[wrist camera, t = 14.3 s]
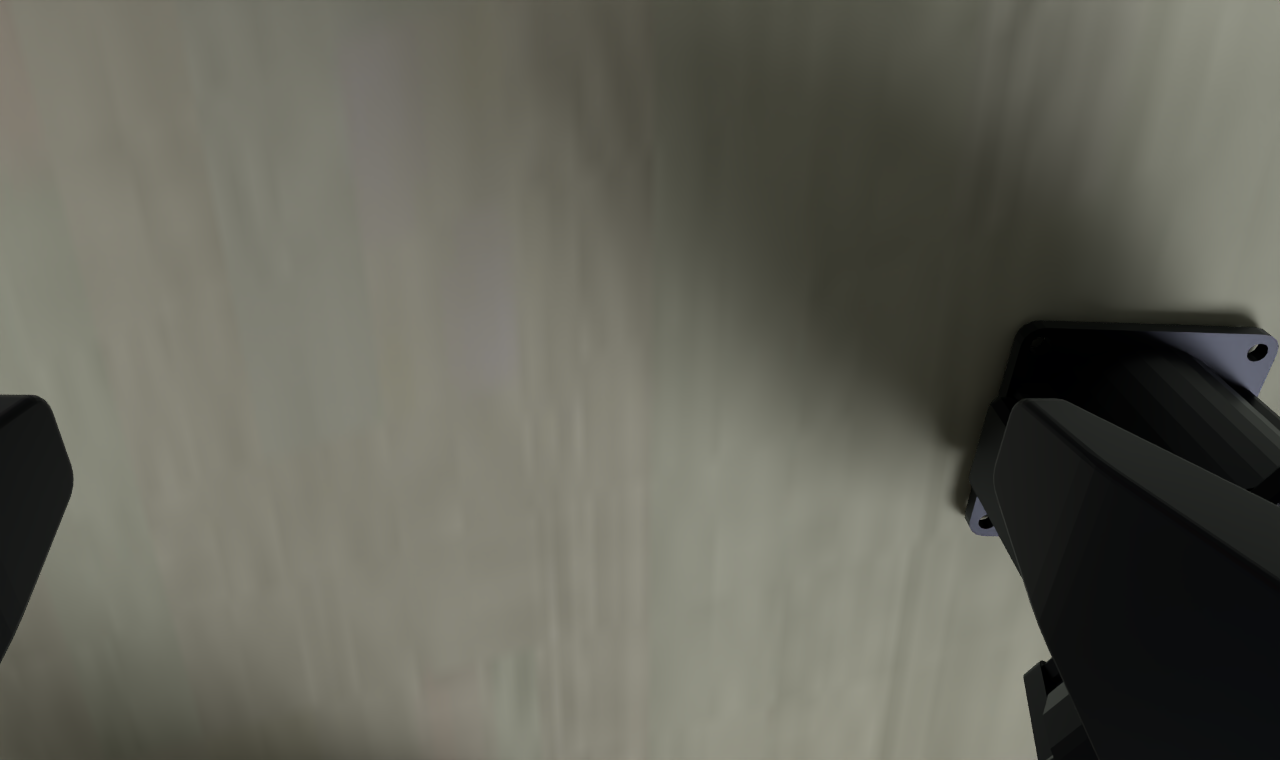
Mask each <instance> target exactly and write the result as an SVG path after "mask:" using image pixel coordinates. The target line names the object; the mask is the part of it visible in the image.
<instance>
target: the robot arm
mask: <svg viewBox="0 0 1280 760" xmlns="http://www.w3.org/2000/svg"><path fill="white" fill-rule="evenodd" d="M1039 337H1045V339H1044V340H1043V342H1042V343H1041V344H1040V345H1039V346H1037V347H1030V345H1031V344H1032V342H1033V341H1034V340H1035V339H1037V338H1039ZM1256 344H1258V346H1257V347H1256V349H1255V350H1254V351H1252V352H1250V353H1247V352H1248V351H1249V350H1250V348H1251V347H1253V346H1254V345H1256ZM1278 347H1279V346H1278V343H1277V340H1276V339H1275V338H1274V337H1272V336H1271V335H1270V334H1268V333H1267V332H1266V331H1265V330H1263V329H1261V328H1256V327H1229V326H1198V325H1167V324H1136V323H1104V322H1073V321H1042V320H1039V321H1032V322H1030V323H1028V324H1026V325H1024V326H1023V327H1022V328H1021V329H1020V330H1019V331H1018V332H1017V334H1016V336H1015V338H1014V342H1013V346H1012V349H1011V353H1010V356H1009V360H1008V363H1007V367H1006V370H1005V374H1004V377H1003V381H1002V384H1001V388H1000V391H999V395H998V397H997V398H995V399H994V400H993V402H992V403H991V404H990V405H989V407H988V411H987V414H986V418H985V421H984V425H983V429H982V432H981V436H980V439H979V443H978V446H977V450H976V454H975V457H974V461H973V464H972V468H971V471H970V475H969V482H970V484H971V486H972V490H971V493H970V497H969V500H968V504H967V507H966V511H965V519H966V521H967V523H968V525H969V527H970V528H971V530H972V532H974V533H975V534H977V535H982V536H999V537H1000V539H1001V541H1002V542H1003V544H1004V546H1005V548H1006V550H1007V552H1008V553H1009V555H1010V557H1011V559H1012V561H1013V562H1014V564H1015V566H1016V568H1017V570H1018V572H1019V573H1020V575H1021V577H1022V579H1023V582H1024V585H1025V588H1026V591H1027V594H1028V597H1029V600H1030V603H1031V606H1032V609H1033V612H1034V615H1035V617H1036V620H1037V623H1038V626H1039V628H1040V630H1041V633H1042V635H1043V637H1044V640H1045V642H1046V645H1047V647H1048V649H1049V651H1050V654H1051V656H1052V658H1051V659H1050V660H1048V661H1047V662H1045V661H1040V662H1038V663H1037V664H1036V665H1035V666H1034V667H1033V668H1031V669H1030V670H1029V671H1028V672H1027V673H1025V674H1024V677H1023V678H1024V683H1025V689H1026V695H1027V700H1028V706H1029V712H1030V717H1031V723H1032V729H1033V734H1034V740H1035V746H1036V751H1037V757H1038V760H1280V417H1279V416H1278V415H1277V414H1276V413H1275V412H1274V411H1272V410H1271V409H1270V408H1269V407H1268V406H1267V405H1266V404H1264V403H1263V402H1262V401H1261V400H1260V399H1259V398H1258V394H1259V392H1260V390H1261V388H1262V386H1263V383H1264V381H1265V379H1266V377H1267V374H1268V372H1269V370H1270V368H1271V366H1272V363H1273V361H1274V359H1275V357H1276V354H1277V351H1278ZM72 489H73V470H72V466H71V463H70V460H69V457H68V454H67V452H66V449H65V446H64V443H63V440H62V437H61V434H60V432H59V429H58V426H57V423H56V420H55V417H54V414H53V412H52V410H51V407H50V406H49V404H48V403H47V402H46V401H45V400H44V399H42V398H40V397H39V396H36V395H0V663H1V661H2V659H3V657H4V655H5V653H6V651H7V649H8V647H9V645H10V643H11V641H12V639H13V637H14V635H15V633H16V630H17V628H18V626H19V624H20V621H21V619H22V617H23V615H24V612H25V610H26V607H27V605H28V602H29V600H30V597H31V595H32V592H33V590H34V587H35V585H36V582H37V580H38V577H39V575H40V572H41V570H42V567H43V565H44V562H45V560H46V557H47V555H48V552H49V550H50V547H51V545H52V542H53V540H54V537H55V535H56V532H57V530H58V527H59V525H60V522H61V520H62V517H63V515H64V512H65V510H66V507H67V505H68V502H69V500H70V497H71V494H72ZM984 515H988V518H986V519H983V520H980V518H981V517H983V516H984Z"/></svg>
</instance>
